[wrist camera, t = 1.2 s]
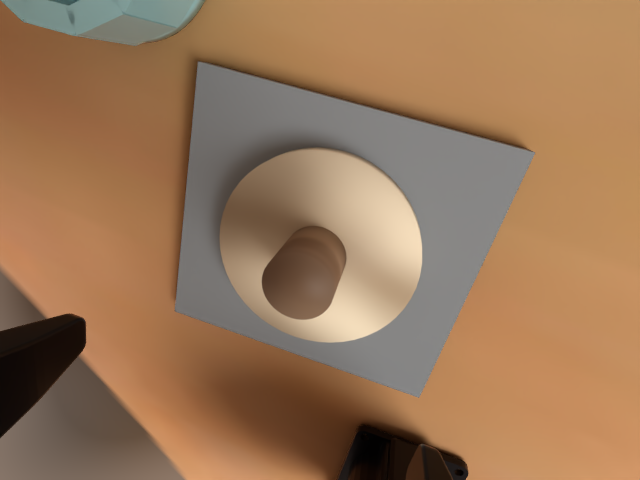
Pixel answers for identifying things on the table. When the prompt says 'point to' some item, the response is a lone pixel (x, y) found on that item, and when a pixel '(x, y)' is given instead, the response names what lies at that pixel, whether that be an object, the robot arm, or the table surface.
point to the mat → (383, 151)
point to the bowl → (109, 17)
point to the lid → (321, 245)
